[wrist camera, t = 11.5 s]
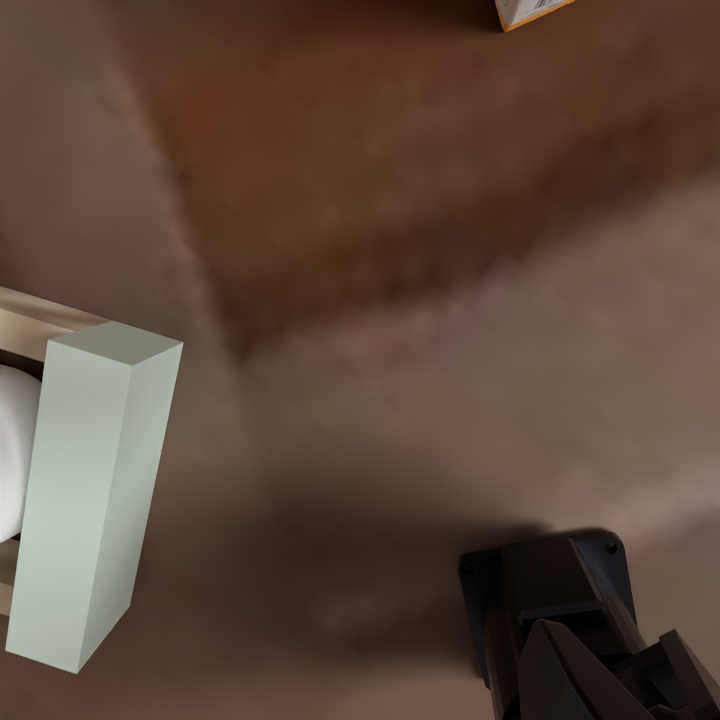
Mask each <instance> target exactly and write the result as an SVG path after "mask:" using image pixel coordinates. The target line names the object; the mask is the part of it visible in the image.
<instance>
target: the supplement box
mask: <svg viewBox="0 0 720 720" xmlns="http://www.w3.org/2000/svg"><path fill="white" fill-rule="evenodd" d="M573 1H575V0H495V3H496V8H497V11H498V15H499V18H500V22H501V26H502V28H503V30H504V32H508V31H510V30H512V29H514V28H516V27H519V26H521V25H523V24H525V23H527V22H530V21H532V20H534V19H536V18H538V17H540V16H543V15H545V14H547V13H549V12H551V11H554V10H556V9H558V8H560V7H562V6H564V5H566V4H569V3H571V2H573Z"/></svg>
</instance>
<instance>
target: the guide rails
mask: <svg viewBox="0 0 720 720" xmlns="http://www.w3.org/2000/svg"><path fill="white" fill-rule="evenodd" d="M111 321H113V320H110V319H106V318H103V317H100V316H97V315H93V314H90V313H87V312H84V311H80V310H77V309H74V308H71V307H67V306H64V305H61V304H58V303H54V302H51V301H48V300H45V299H41V298H38V297H35V296H32V295H28V294H25V293H22V292H19V291H15V290H12V289H9V288H6V287H2V286H0V349H3V350H6V351H10V352H13V353H16V354H19V355H22V356H26V357H29V358H32V359H35V360H38V361H42V362H45V357H46V350H47V343H48V340H49V339H52V338H56V337H59V336H63V335H66V334H70V333H73V332H76V331H80V330H83V329H87V328H90V327H94V326H97V325H100V324H104V323H107V322H111ZM19 547H20V541H17V540H14V539H11V538H9V539H7V540H5V541H3V542H1V543H0V613H1V614H4V615H7V616H10V612H11V605H12V598H13V590H14V583H15V576H16V569H17V561H18V554H19Z"/></svg>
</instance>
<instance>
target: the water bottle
mask: <svg viewBox="0 0 720 720" xmlns="http://www.w3.org/2000/svg"><path fill="white" fill-rule="evenodd" d="M41 387H42V382H40V381H39V380H38V379H36V378H34V377H33V376H31V375H29V374H27V373H25V372H23V371H21V370H18V369H16V368H13V367H9V366H5V365H0V543H1V542H3V541H5V540H7V539H9V538H11V537H13V536H14V535H16V534H18V533H19V532H21V531H22V525H23V518H24V510H25V503H26V496H27V489H28V481H29V474H30V467H31V459H32V452H33V445H34V438H35V430H36V423H37V416H38V408H39V401H40V394H41Z"/></svg>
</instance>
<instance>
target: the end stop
mask: <svg viewBox="0 0 720 720" xmlns="http://www.w3.org/2000/svg"><path fill="white" fill-rule="evenodd" d="M183 343H184V342H181V341H178V340H175V339H172V338H168V337H165V336H162V335H159V334H155V333H152V332H149V331H146V330H142V329H139V328H136V327H133V326H129V325H126V324H123V323H120V322H116V321H111V322H107V323H104V324H100V325H97V326H94V327H90V328H87V329H83V330H80V331H76V332H73V333H70V334H66V335H63V336H59V337H56V338H52V339H49V340H48V343H47V350H46V357H45V365H44V372H43V379H42V387H41V394H40V401H39V408H38V416H37V423H36V430H35V438H34V445H33V452H32V459H31V467H30V474H29V481H28V489H27V496H26V503H25V510H24V518H23V525H22V532H21V539H20V547H19V554H18V561H17V569H16V576H15V583H14V590H13V598H12V605H11V612H10V620H9V627H8V634H7V641H6V649H5V650H6V651H9V652H12V653H15V654H18V655H21V656H24V657H27V658H30V659H33V660H36V661H39V662H42V663H45V664H48V665H51V666H54V667H57V668H60V669H63V670H66V671H69V672H72V673H75V674H77V673H78V672H79V671H80V669H81V668H82V667H83V666H84V664H85V663H86V662H87V660H88V659H89V658H90V657H91V655H92V654H93V653H94V651H95V650H96V649H97V648H98V646H99V645H100V644H101V642H102V641H103V640H104V639H105V637H106V636H107V635H108V633H109V632H110V631H111V630H112V628H113V627H114V626H115V624H116V623H117V622H118V621H119V619H120V618H121V617H122V615H123V614H124V613H125V612H126V610H127V609H128V608H129V606H130V603H131V598H132V593H133V588H134V583H135V578H136V573H137V568H138V563H139V559H140V554H141V549H142V544H143V539H144V534H145V529H146V524H147V519H148V514H149V510H150V505H151V500H152V495H153V490H154V485H155V480H156V475H157V470H158V465H159V461H160V456H161V451H162V446H163V441H164V436H165V431H166V426H167V421H168V416H169V412H170V407H171V402H172V397H173V392H174V387H175V382H176V377H177V372H178V367H179V363H180V358H181V353H182V348H183Z"/></svg>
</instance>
